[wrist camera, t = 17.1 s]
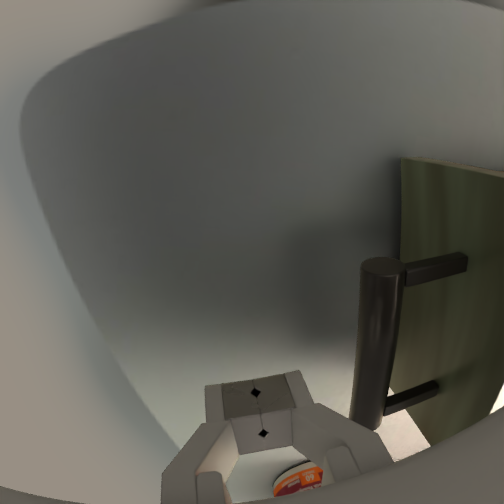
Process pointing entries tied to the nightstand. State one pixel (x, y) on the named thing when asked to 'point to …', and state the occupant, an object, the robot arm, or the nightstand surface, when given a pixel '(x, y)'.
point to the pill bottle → (298, 479)
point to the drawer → (435, 305)
